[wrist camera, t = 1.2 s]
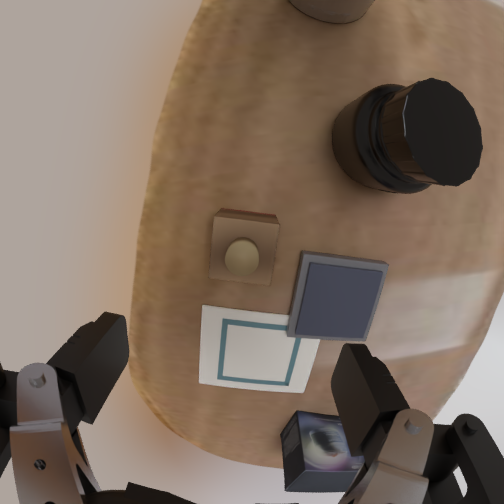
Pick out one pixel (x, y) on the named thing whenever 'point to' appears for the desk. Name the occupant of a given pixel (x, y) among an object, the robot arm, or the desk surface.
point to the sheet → (253, 351)
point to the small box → (317, 454)
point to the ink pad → (335, 297)
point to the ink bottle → (408, 137)
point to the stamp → (243, 246)
